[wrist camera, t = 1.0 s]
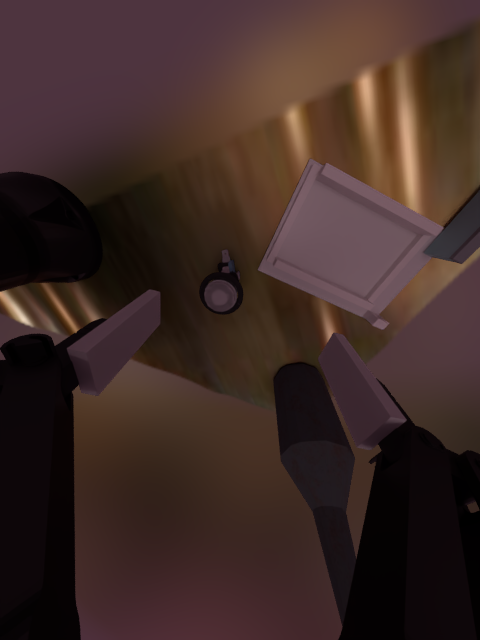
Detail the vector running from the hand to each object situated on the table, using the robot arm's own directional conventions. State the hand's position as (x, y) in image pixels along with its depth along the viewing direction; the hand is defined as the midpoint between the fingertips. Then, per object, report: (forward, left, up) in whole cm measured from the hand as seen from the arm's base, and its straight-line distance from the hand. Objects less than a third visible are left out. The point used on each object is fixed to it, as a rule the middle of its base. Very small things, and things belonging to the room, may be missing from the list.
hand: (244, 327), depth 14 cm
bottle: (+19, -18, -18) cm, 31 cm away
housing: (+11, +8, -18) cm, 22 cm away
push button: (-3, -2, -18) cm, 18 cm away
